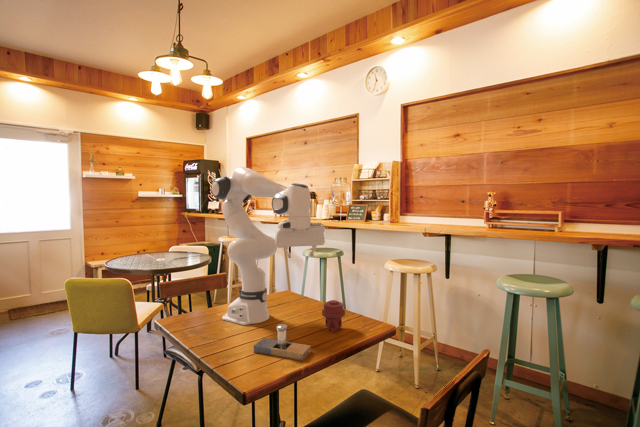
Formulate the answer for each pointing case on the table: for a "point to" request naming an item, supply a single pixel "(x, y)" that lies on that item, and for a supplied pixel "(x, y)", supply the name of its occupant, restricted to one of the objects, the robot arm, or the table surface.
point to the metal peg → (281, 336)
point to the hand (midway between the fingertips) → (300, 257)
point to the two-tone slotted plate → (291, 351)
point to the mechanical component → (333, 314)
